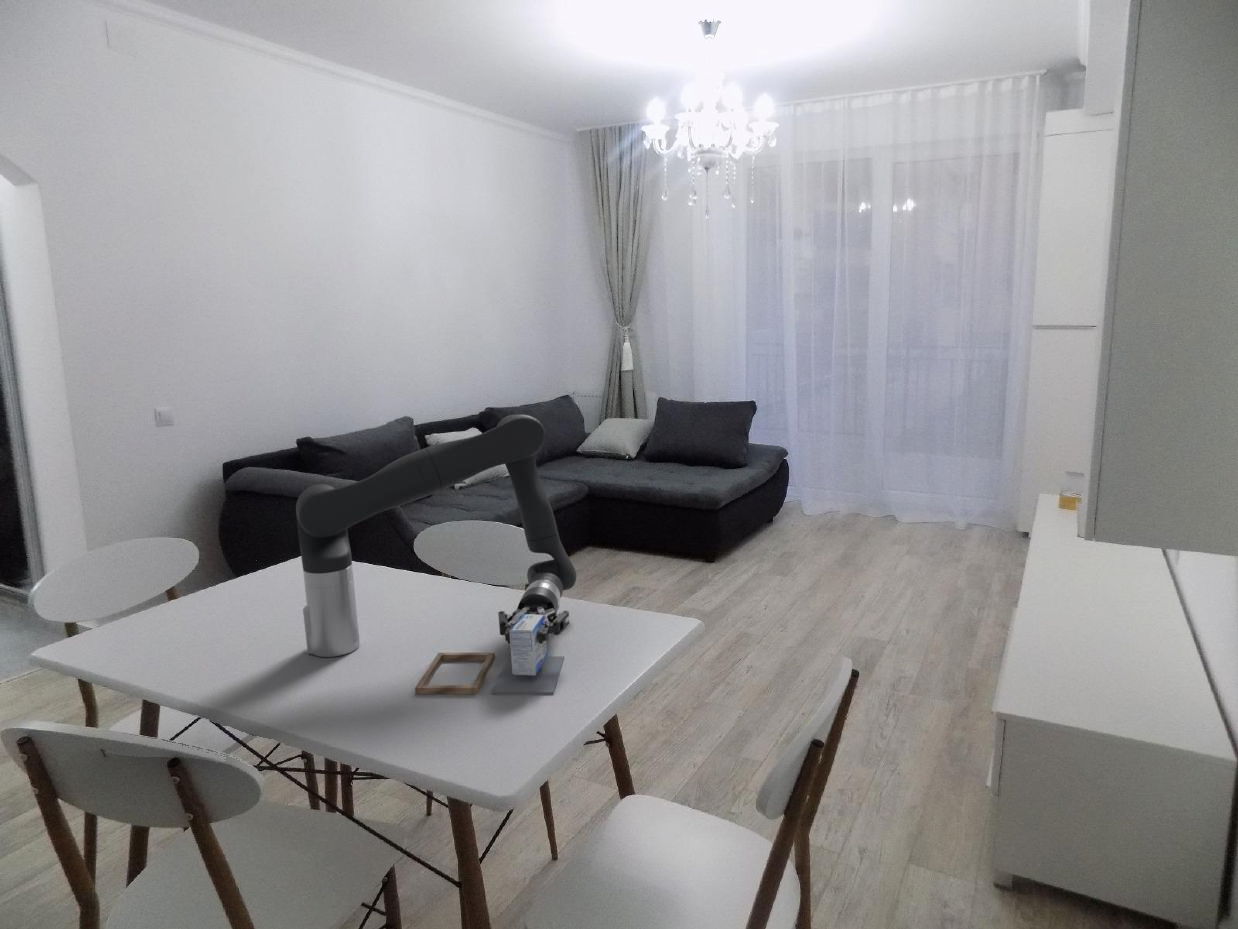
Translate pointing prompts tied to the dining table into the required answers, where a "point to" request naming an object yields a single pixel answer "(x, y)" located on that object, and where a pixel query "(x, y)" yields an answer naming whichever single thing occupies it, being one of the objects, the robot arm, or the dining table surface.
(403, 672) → the dining table surface
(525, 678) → the charcoal mat
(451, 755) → the dining table surface
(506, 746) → the dining table surface
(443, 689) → the walnut tray
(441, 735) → the dining table surface
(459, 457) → the robot arm
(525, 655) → the medicine box
